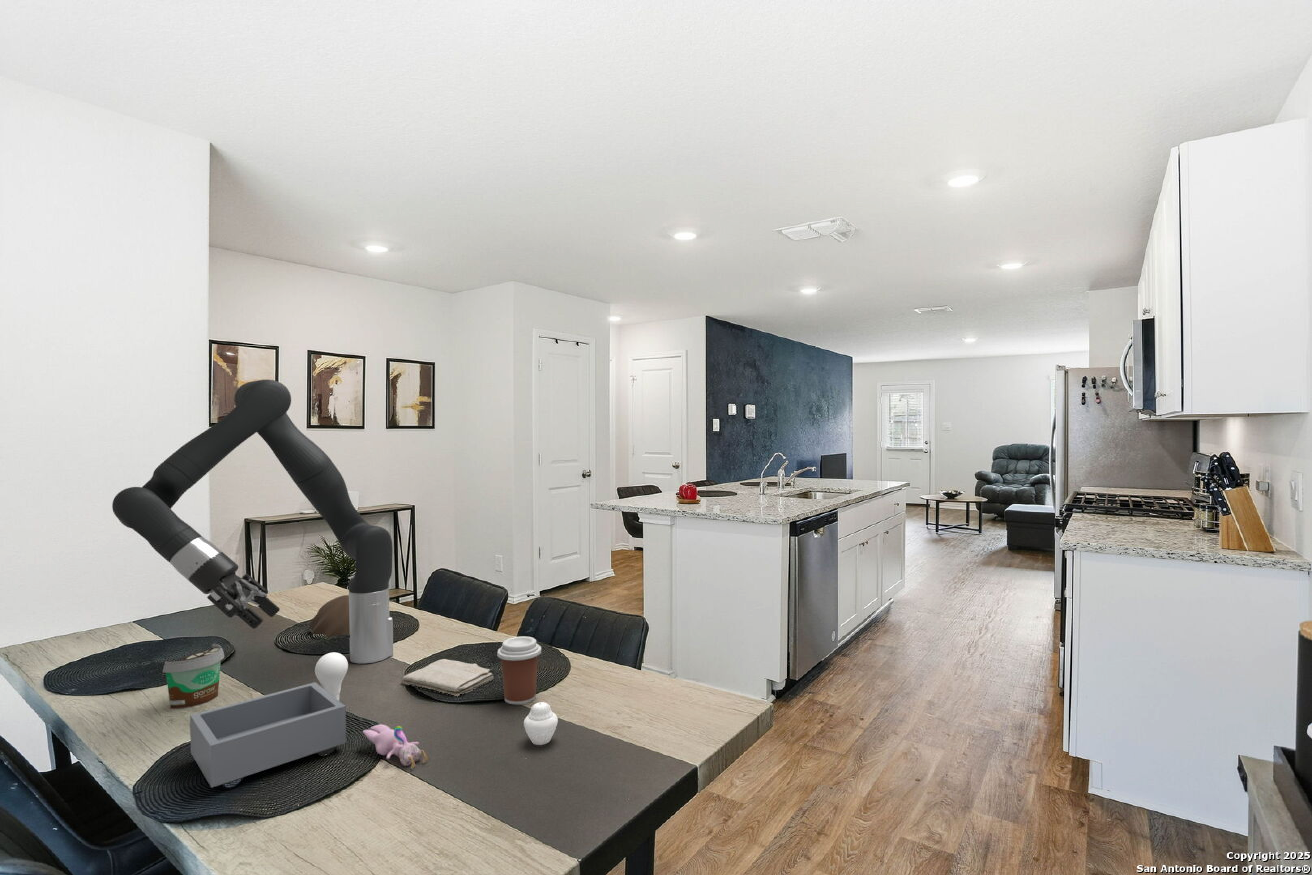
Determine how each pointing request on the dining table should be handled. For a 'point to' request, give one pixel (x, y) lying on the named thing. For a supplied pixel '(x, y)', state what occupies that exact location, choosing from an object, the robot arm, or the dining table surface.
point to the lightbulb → (331, 672)
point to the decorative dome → (332, 618)
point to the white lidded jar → (540, 723)
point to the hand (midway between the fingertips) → (268, 619)
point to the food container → (194, 678)
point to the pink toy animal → (394, 744)
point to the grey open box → (266, 732)
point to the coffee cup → (519, 669)
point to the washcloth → (449, 677)
